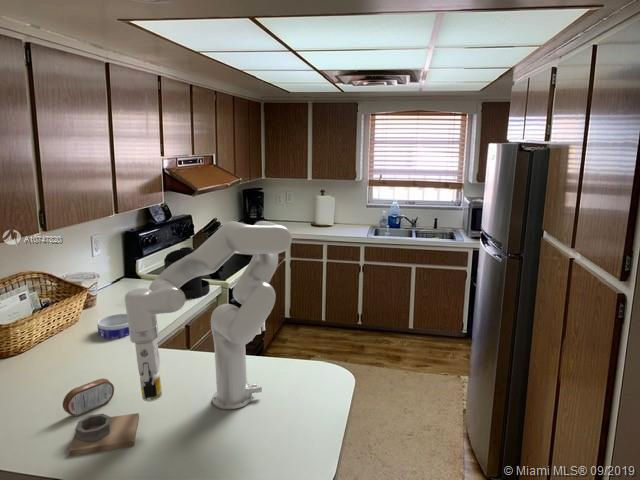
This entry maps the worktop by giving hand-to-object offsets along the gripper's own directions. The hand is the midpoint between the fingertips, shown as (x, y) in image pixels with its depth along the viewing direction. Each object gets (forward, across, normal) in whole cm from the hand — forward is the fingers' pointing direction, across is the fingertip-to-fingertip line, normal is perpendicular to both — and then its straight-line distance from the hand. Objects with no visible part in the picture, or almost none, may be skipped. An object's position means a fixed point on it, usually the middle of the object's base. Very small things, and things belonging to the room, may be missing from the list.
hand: (151, 390), depth 137 cm
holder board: (+11, -2, +13) cm, 17 cm away
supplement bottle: (+2, 0, 0) cm, 2 cm away
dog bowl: (+12, +78, +21) cm, 81 cm away
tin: (+11, +14, +20) cm, 27 cm away
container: (+14, +126, -8) cm, 127 cm away
